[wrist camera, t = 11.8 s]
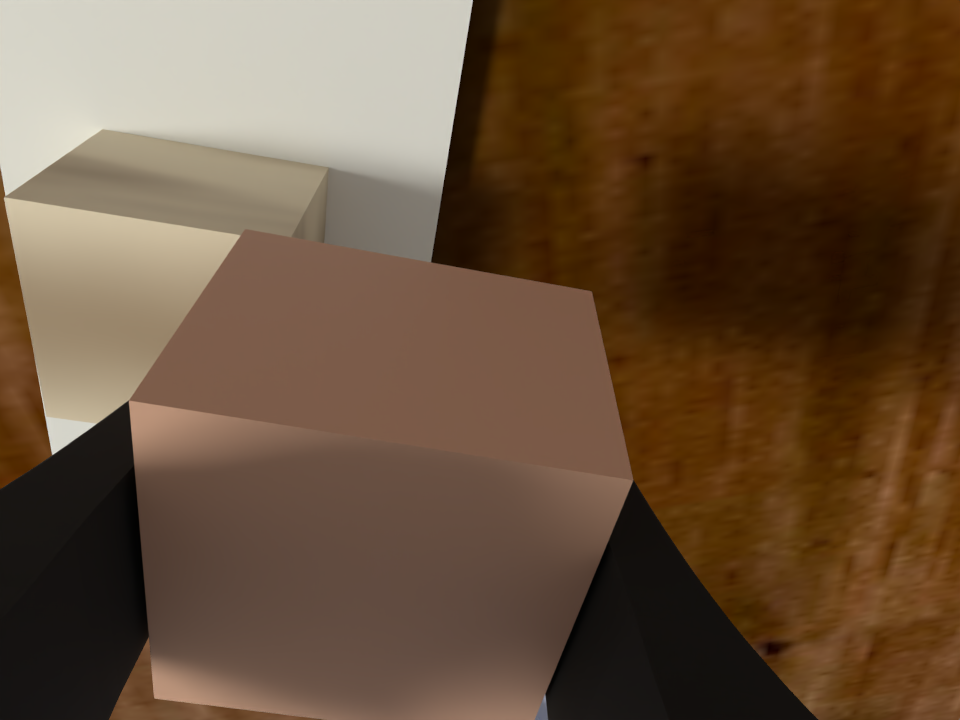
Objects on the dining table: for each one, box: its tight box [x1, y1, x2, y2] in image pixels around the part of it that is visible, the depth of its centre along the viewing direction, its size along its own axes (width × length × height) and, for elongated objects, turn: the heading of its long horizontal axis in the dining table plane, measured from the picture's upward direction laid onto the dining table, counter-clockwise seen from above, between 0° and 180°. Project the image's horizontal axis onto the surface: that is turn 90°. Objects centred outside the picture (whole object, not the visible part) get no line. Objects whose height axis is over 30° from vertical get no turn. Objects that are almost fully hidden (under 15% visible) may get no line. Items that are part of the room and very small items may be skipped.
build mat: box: [0, 0, 473, 455], centre depth 19 cm, size 16×10×1 cm, turn 170°
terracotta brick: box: [129, 229, 633, 720], centre depth 10 cm, size 5×5×4 cm
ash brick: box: [4, 129, 329, 424], centre depth 17 cm, size 5×5×4 cm
